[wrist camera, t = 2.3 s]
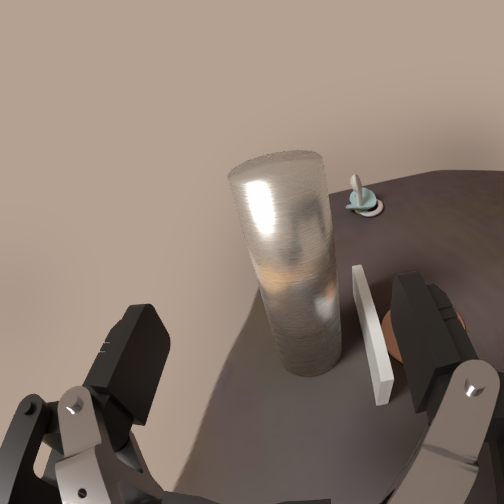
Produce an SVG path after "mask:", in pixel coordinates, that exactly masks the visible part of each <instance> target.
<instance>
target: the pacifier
mask: <svg viewBox="0 0 504 504" xmlns="http://www.w3.org/2000/svg"><path fill="white" fill-rule="evenodd" d="M350 183H351V187H352V189H353V190H354V191H353V192H352V193H351V195H350V201H351V203H352V204H350V205H347V206H346V208H347V209H352V210H355V212H356V213H358V214H361V215H363V216H367V217H372V216H375V215H378V214H379V213H380V212H381V211H382V209H383V204H382V202H381V201H380V200H378V199H376V197H375V195H374V193H373V192H372V191H370V190H368V189H366V188H362V184H361V181H360V179H359V177H358V175H357V174H354V175H353V176H352V177H351V182H350ZM355 197H356V198H355ZM376 204H377V205H378V208H377V209H376V210H374V211H372V212H368V210H369V209H370V208H373V207H374V206H375V205H376Z"/></svg>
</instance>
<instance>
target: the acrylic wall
mask: <svg viewBox="0 0 504 504" xmlns="http://www.w3.org/2000/svg"><path fill="white" fill-rule="evenodd" d="M352 276H353V296H354V300H355V304H356V308H357V312H358V316H359V321H360V325H361V329H362V334H363V339H364V343H365V348H366V353H367V358H368V363H369V368H370V373H371V378H372V384H373V389H374V395H375V401H376V406H378V405H384V404H388V402H389V398H390V394H391V390H392V386H393V382H394V376H393V372H392V368H391V364H390V360H389V356H388V352H387V348H386V344H385V341H384V337H383V333H382V330H381V326H380V323H379V319H378V316H377V313H376V309H375V306H374V303H373V299H372V296H371V293H370V290H369V287H368V284H367V281H366V277H365V274H364V271H363V268H362V266H361V265H357V266H352Z"/></svg>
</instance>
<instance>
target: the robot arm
mask: <svg viewBox="0 0 504 504" xmlns="http://www.w3.org/2000/svg"><path fill="white" fill-rule="evenodd" d="M390 317H391V324H392V329H393V332H394V335H395V338H396V342H397V345H398V348H399V352H400V355H401V358H402V362H403V365H404V369H405V373H406V376H407V380H408V384H409V388H410V392H411V396H412V400H413V404H414V408H415V412H416V413H420V412H424V411H427V415H428V419H429V421H428V423H427V425H426V427H425V429H424V431H423V433H422V435H421V437H420V439H419V441H418V442H417V444H416V446H415V448H414V450H413V452H412V453H411V455H410V457H409V459H408V461H407V462H406V464H405V466H404V467H403V469H402V471H401V472H400V474H399V475H398V477H397V478H396V480H395V481H394V483H393V484H392V486H391V487H390V488H389V490H388V491H387V493H386V494H385V496H384V497H383V499H382V500H381V501H380V503H379V504H464V502H465V500H466V498H467V496H468V494H469V492H470V490H471V488H472V486H473V483H474V481H475V479H476V476H477V473H478V469H479V465H478V463H477V457H478V454H479V452H480V449H481V447H482V444H483V442H489V446H490V451H491V456H492V462H493V468H494V475H495V483H496V491H497V501H498V504H504V373H499V372H496V370H495V369H494V368H493V367H492V366H491V365H490V364H488V363H487V362H484V361H481V360H479V358H478V357H477V355H476V352H475V350H474V348H473V346H472V344H471V342H470V339H469V337H468V335H467V333H466V331H465V329H464V327H463V325H462V323H461V321H460V319H458V315H457V313H456V311H455V310H454V308H452V304H451V302H450V300H449V298H448V297H447V295H446V293H445V292H443V291H442V290H441V289H440V288H439V287H437V286H436V285H435V284H430V285H426V284H425V283H424V281H423V279H422V277H421V275H420V273H419V272H418V271H417V270H415V271H409V272H403V273H397V274H394V276H393V285H392V297H391V308H390ZM169 351H170V337H169V334H168V332H167V330H166V329H165V327H164V325H163V323H162V321H161V319H160V318H159V316H158V314H157V312H156V310H155V308H154V307H153V306H152V305H151V304H139V305H130V306H129V307H128V309H127V310H126V313H125V314H124V316H123V318H122V320H120V321H119V322H118V323H117V324H116V325H115V326H114V327H113V328H112V329H111V330H110V332H109V334H108V336H107V338H106V339H105V343H103V345H102V347H101V349H100V353H98V355H97V357H96V359H95V361H94V363H93V365H92V367H91V369H90V371H89V373H88V375H87V377H86V379H85V381H84V383H83V385H82V386H76V387H73V388H71V389H69V390H68V391H66V392H65V393H64V395H63V396H62V397H61V399H60V401H56V402H49V403H46V402H45V401H44V400H43V399H42V398H41V397H40V396H39V395H37V394H30V395H28V396H26V397H25V398H24V399H23V400H22V401H21V402H20V404H19V406H18V408H17V410H16V413H15V414H14V417H13V419H12V421H11V424H10V426H9V428H8V431H7V433H6V435H5V438H4V441H3V443H2V446H1V448H0V504H219V503H216V502H213V501H211V500H208V499H205V498H203V497H199V496H192V495H185V494H179V493H174V492H168V491H164V490H163V489H162V488H161V486H160V485H159V484H158V483H157V482H156V481H155V480H154V479H153V477H152V476H151V474H150V472H149V470H148V467H147V465H146V463H145V461H144V458H143V456H142V453H141V451H140V449H139V446H138V444H137V441H136V439H135V436H134V434H133V433H132V431H131V427H132V424H136V425H142V426H145V424H146V421H147V418H148V414H149V411H150V408H151V405H152V402H153V399H154V396H155V393H156V390H157V386H158V383H159V380H160V377H161V374H162V371H163V368H164V365H165V362H166V359H167V356H168V354H169ZM42 441H43V442H44V443H45V444H47V445H48V446H50V447H51V448H52V450H51V453H50V456H49V459H48V462H47V465H46V468H45V471H44V475H43V477H42V478H38V477H37V476H36V475H35V473H34V470H33V465H34V462H35V459H36V456H37V453H38V450H39V447H40V445H41V442H42ZM277 504H331V499H322V500H308V501H286V502H282V503H277Z"/></svg>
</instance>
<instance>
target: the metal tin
mask: <svg viewBox="0 0 504 504" xmlns="http://www.w3.org/2000/svg"><path fill="white" fill-rule="evenodd" d="M228 180H229V184H230V187H231V191H232V194H233V198H234V201H235V205H236V208H237V212H238V215H239V219H240V222H241V226H242V229H243V233H244V236H245V239H246V243H247V246H248V250H249V253H250V257H251V260H252V264H253V267H254V271H255V274H256V277H257V281H258V284H259V288H260V291H261V295H262V298H263V302H264V305H265V309H266V312H267V315H268V319H269V322H270V326H271V329H272V333H273V336H274V339H275V343H276V346H277V350H278V353H279V357H280V360H281V363H282V365H283V366H284V367H285V368H286V369H287V370H288V371H289V372H291V373H293V374H295V375H298V376H303V377H312V376H317V375H321V374H323V373H325V372H327V371H329V370H330V369H332V368H333V367H334V366H335V365H336V364H337V362H338V361H339V359H340V357H341V353H342V341H341V320H340V304H339V290H338V277H337V266H336V256H335V246H334V236H333V228H332V219H331V211H330V204H329V196H328V189H327V182H326V176H325V169H324V164H323V157H322V156H321V155H320V154H318V153H316V152H312V151H303V150H300V151H299V150H297V151H283V152H277V153H272V154H267V155H263V156H260V157H257V158H254V159H251V160H248V161H246V162H244V163H242V164H240V165H238V166H236V167H235V168H234V169H232V170H231V171H230V172H229V174H228Z"/></svg>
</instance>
